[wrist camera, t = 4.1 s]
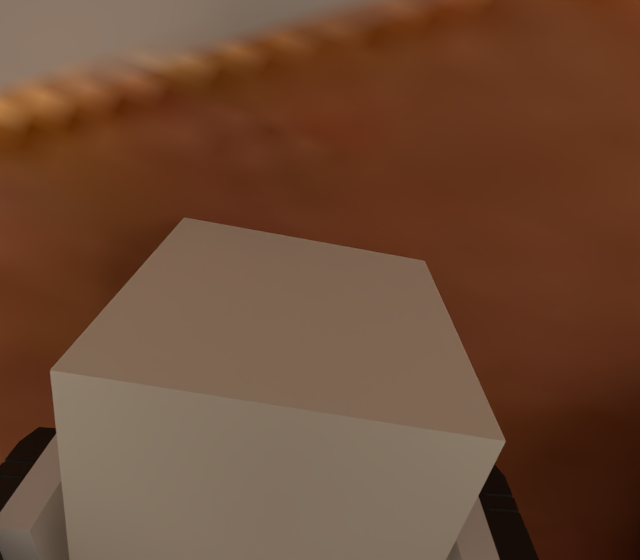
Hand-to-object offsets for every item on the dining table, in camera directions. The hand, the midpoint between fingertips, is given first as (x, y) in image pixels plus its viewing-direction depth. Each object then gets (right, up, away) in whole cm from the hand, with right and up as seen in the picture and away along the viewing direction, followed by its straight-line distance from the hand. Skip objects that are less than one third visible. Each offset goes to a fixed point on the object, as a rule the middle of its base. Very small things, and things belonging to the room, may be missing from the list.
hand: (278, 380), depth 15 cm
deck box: (0, 0, 0) cm, 0 cm away
